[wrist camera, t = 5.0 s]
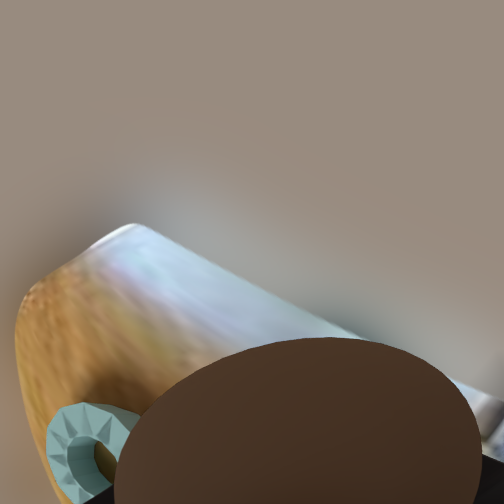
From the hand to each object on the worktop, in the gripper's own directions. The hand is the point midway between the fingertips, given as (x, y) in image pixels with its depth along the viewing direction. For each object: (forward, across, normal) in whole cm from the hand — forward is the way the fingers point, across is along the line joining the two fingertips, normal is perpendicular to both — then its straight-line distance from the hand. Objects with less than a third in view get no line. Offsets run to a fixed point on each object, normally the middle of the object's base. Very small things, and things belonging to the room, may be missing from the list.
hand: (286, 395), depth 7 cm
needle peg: (+4, 0, +6) cm, 7 cm away
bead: (+4, +14, +14) cm, 21 cm away
